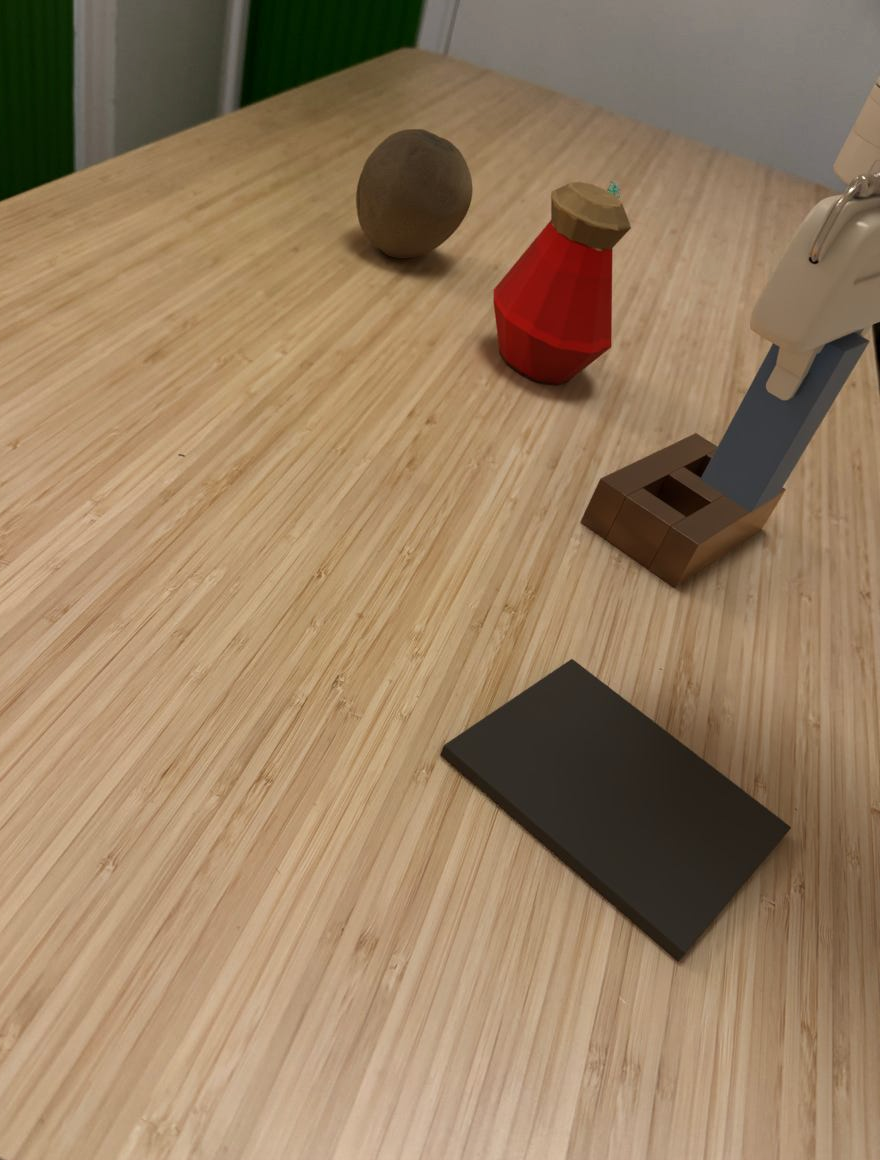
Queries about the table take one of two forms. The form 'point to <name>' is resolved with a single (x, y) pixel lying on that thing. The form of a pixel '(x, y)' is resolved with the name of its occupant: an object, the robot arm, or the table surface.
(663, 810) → the mat
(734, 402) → the table surface
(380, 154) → the cantaloupe
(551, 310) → the bottle
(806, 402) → the peg
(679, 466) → the peg block
